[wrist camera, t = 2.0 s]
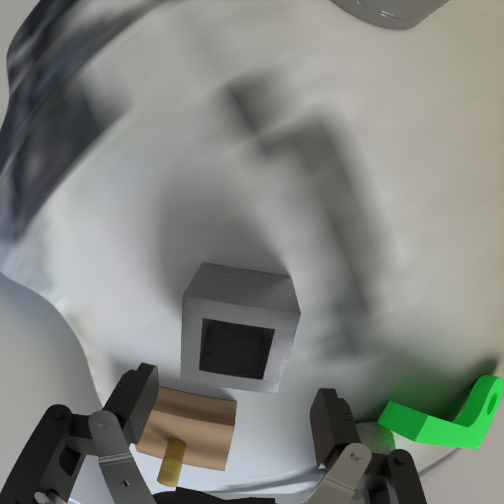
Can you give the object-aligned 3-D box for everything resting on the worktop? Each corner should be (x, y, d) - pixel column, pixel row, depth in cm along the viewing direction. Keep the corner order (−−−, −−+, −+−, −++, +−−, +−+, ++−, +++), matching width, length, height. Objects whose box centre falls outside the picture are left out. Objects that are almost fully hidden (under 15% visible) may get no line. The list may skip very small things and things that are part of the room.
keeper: (133, 379, 22) (100, 441, 14) (237, 401, 22) (229, 474, 14) (144, 433, 25) (124, 484, 17) (226, 451, 25) (220, 507, 17)
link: (202, 262, 18) (183, 295, 13) (290, 276, 18) (300, 313, 13) (196, 335, 20) (181, 378, 15) (274, 347, 20) (276, 393, 15)
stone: (365, 473, 28) (382, 548, 13) (319, 482, 28) (328, 561, 14) (390, 403, 22) (435, 518, 8) (325, 419, 23) (349, 548, 8)
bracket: (469, 377, 27) (506, 382, 20) (443, 436, 24) (478, 448, 17) (406, 331, 24) (461, 335, 17) (365, 417, 21) (415, 442, 14)
